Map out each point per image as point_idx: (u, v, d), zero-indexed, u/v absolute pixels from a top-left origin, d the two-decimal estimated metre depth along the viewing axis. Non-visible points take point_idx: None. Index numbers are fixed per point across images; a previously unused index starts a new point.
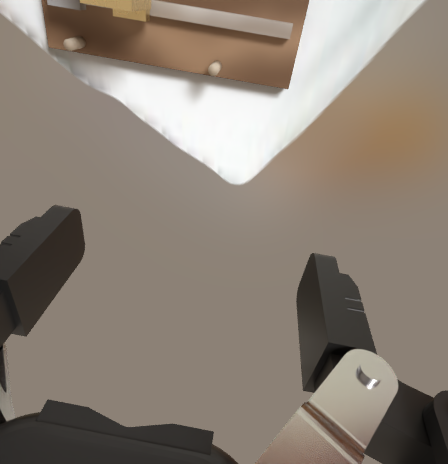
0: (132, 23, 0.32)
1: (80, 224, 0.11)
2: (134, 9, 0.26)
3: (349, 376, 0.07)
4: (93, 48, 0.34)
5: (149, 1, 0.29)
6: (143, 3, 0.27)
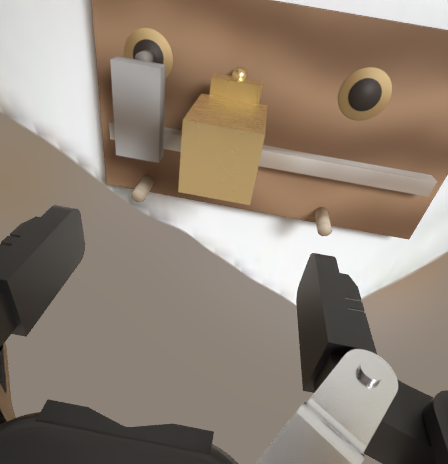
0: None
1: (80, 224, 0.11)
2: None
3: (349, 376, 0.07)
4: (163, 187, 0.27)
5: None
6: None
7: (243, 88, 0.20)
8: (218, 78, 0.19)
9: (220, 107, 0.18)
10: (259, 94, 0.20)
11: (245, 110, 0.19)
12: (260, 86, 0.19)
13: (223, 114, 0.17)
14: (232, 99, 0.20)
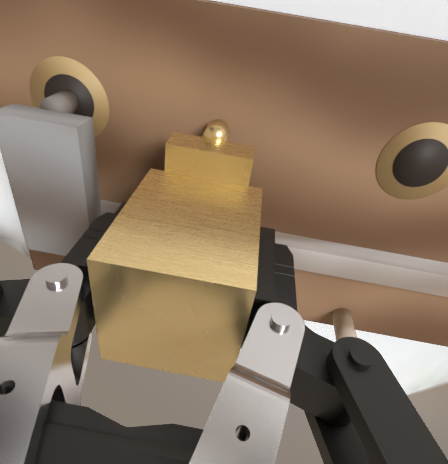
0: None
1: None
2: None
3: (264, 330, 0.08)
4: None
5: None
6: None
7: (221, 162, 0.11)
8: (177, 145, 0.11)
9: (177, 205, 0.10)
10: (248, 172, 0.11)
11: (222, 208, 0.10)
12: (250, 159, 0.11)
13: (179, 226, 0.09)
14: (203, 178, 0.12)
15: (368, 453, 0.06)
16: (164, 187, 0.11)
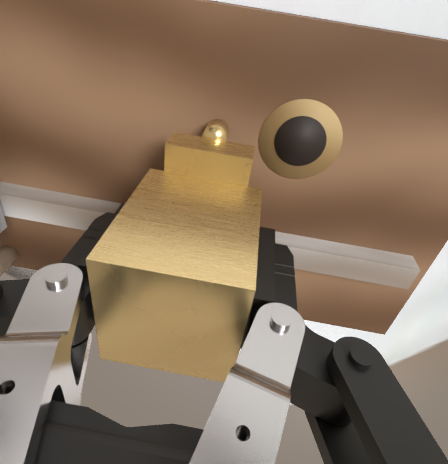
0: None
1: None
2: None
3: (265, 330, 0.08)
4: (33, 261, 0.19)
5: None
6: None
7: (220, 162, 0.11)
8: (177, 145, 0.11)
9: (176, 205, 0.10)
10: (248, 171, 0.11)
11: (222, 208, 0.10)
12: (250, 159, 0.11)
13: (178, 226, 0.09)
14: (202, 178, 0.12)
15: (368, 453, 0.06)
16: (164, 187, 0.11)
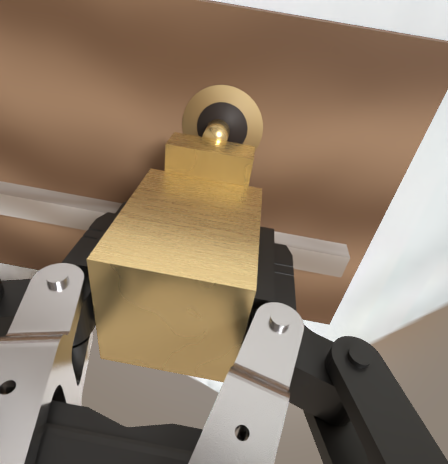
0: (41, 224, 0.17)
1: None
2: None
3: (263, 329, 0.08)
4: None
5: None
6: None
7: (221, 162, 0.11)
8: (178, 145, 0.11)
9: (177, 206, 0.10)
10: (248, 172, 0.11)
11: (222, 208, 0.10)
12: (250, 159, 0.11)
13: (179, 227, 0.09)
14: (203, 179, 0.12)
15: (367, 452, 0.06)
16: (164, 187, 0.11)
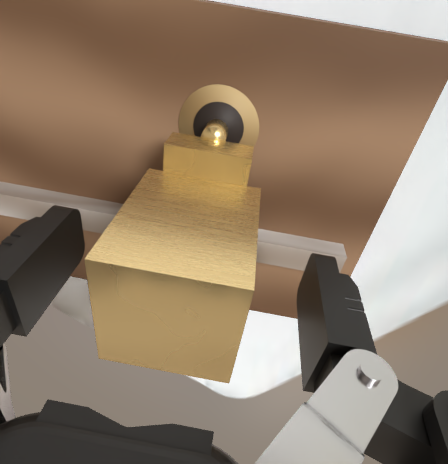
0: None
1: (80, 224, 0.11)
2: None
3: (349, 376, 0.07)
4: None
5: None
6: None
7: (219, 162, 0.11)
8: (176, 145, 0.11)
9: (175, 206, 0.10)
10: (247, 172, 0.11)
11: (221, 208, 0.10)
12: (248, 159, 0.11)
13: (177, 226, 0.09)
14: (201, 178, 0.12)
15: None
16: (162, 187, 0.11)
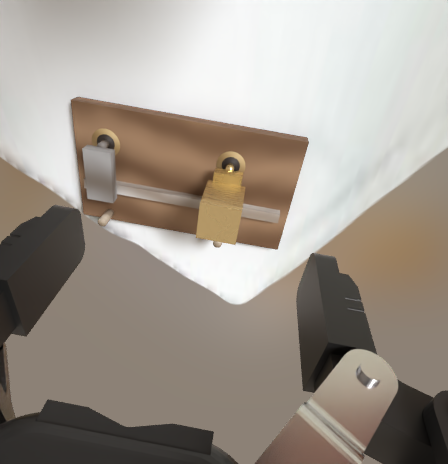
0: (152, 203, 0.41)
1: (80, 224, 0.11)
2: None
3: (349, 376, 0.07)
4: (120, 216, 0.42)
5: None
6: None
7: (232, 178, 0.35)
8: (217, 172, 0.35)
9: (219, 191, 0.33)
10: (241, 181, 0.35)
11: (232, 192, 0.34)
12: (241, 177, 0.35)
13: (221, 196, 0.33)
14: (225, 183, 0.35)
15: None
16: (214, 186, 0.34)
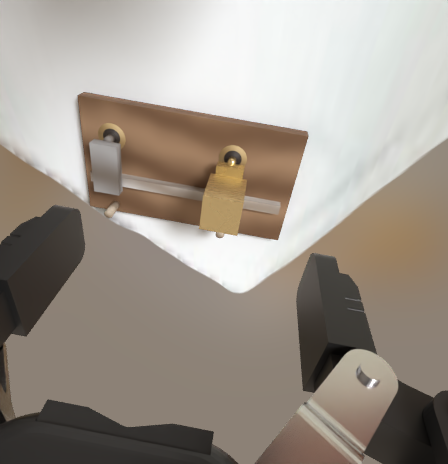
0: (157, 195, 0.42)
1: (80, 224, 0.11)
2: None
3: (349, 376, 0.07)
4: (125, 208, 0.44)
5: None
6: None
7: (233, 171, 0.36)
8: (220, 166, 0.36)
9: (221, 184, 0.35)
10: (242, 174, 0.36)
11: (234, 185, 0.35)
12: (243, 170, 0.36)
13: (223, 189, 0.34)
14: (228, 176, 0.36)
15: None
16: (216, 179, 0.36)
